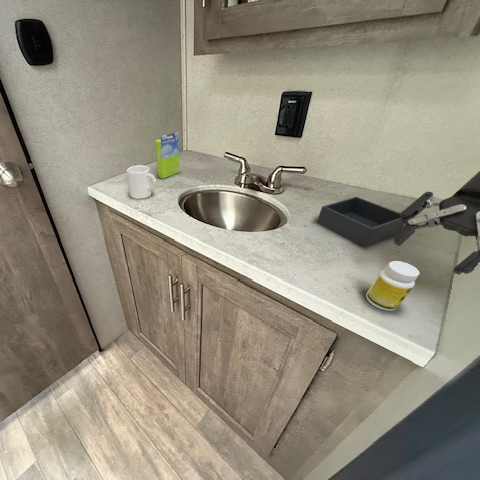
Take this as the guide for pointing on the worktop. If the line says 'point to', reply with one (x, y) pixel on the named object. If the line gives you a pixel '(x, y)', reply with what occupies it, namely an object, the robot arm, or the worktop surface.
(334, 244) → the worktop surface
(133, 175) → the mug
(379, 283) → the supplement bottle
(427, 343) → the worktop surface
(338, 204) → the bin
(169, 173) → the box
